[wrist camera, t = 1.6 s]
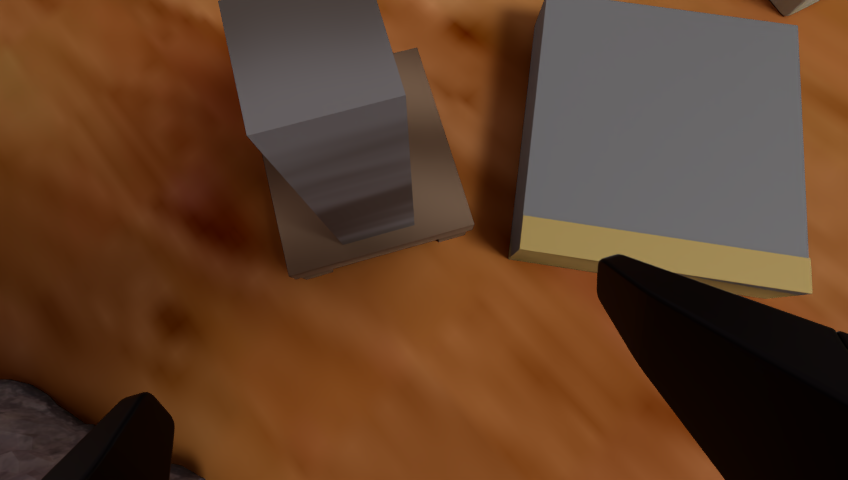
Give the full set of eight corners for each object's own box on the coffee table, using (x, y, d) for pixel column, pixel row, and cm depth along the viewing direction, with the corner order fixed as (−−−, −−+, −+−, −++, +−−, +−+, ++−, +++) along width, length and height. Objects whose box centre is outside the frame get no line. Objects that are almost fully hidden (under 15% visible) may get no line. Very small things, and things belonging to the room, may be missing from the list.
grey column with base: (469, 233, 22) (536, 93, 9) (300, 281, 21) (120, 202, 9) (417, 70, 24) (412, -229, 11) (261, 109, 23) (71, -159, 11)
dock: (765, 298, 21) (812, 293, 19) (508, 259, 21) (519, 248, 19) (759, 56, 24) (799, 24, 22) (534, 26, 25) (547, -10, 22)
